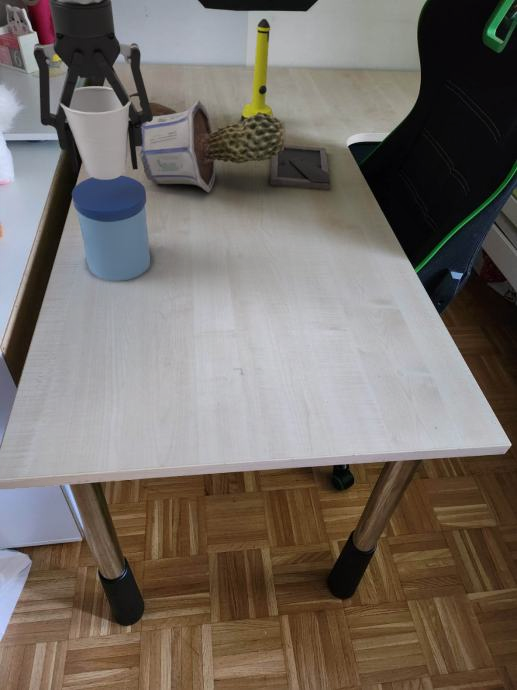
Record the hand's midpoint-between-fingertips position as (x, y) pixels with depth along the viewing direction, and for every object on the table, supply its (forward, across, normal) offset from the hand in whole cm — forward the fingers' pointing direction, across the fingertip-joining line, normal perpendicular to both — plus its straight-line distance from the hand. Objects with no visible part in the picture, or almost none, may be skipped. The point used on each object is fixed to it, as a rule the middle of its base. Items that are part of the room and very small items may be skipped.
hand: (105, 166), depth 81 cm
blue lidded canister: (+18, 0, 0) cm, 18 cm away
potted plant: (+19, -22, -25) cm, 38 cm away
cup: (+1, 0, 0) cm, 1 cm away
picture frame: (+19, -44, -30) cm, 56 cm away
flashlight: (+19, -40, -55) cm, 71 cm away
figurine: (+19, -13, -56) cm, 60 cm away
